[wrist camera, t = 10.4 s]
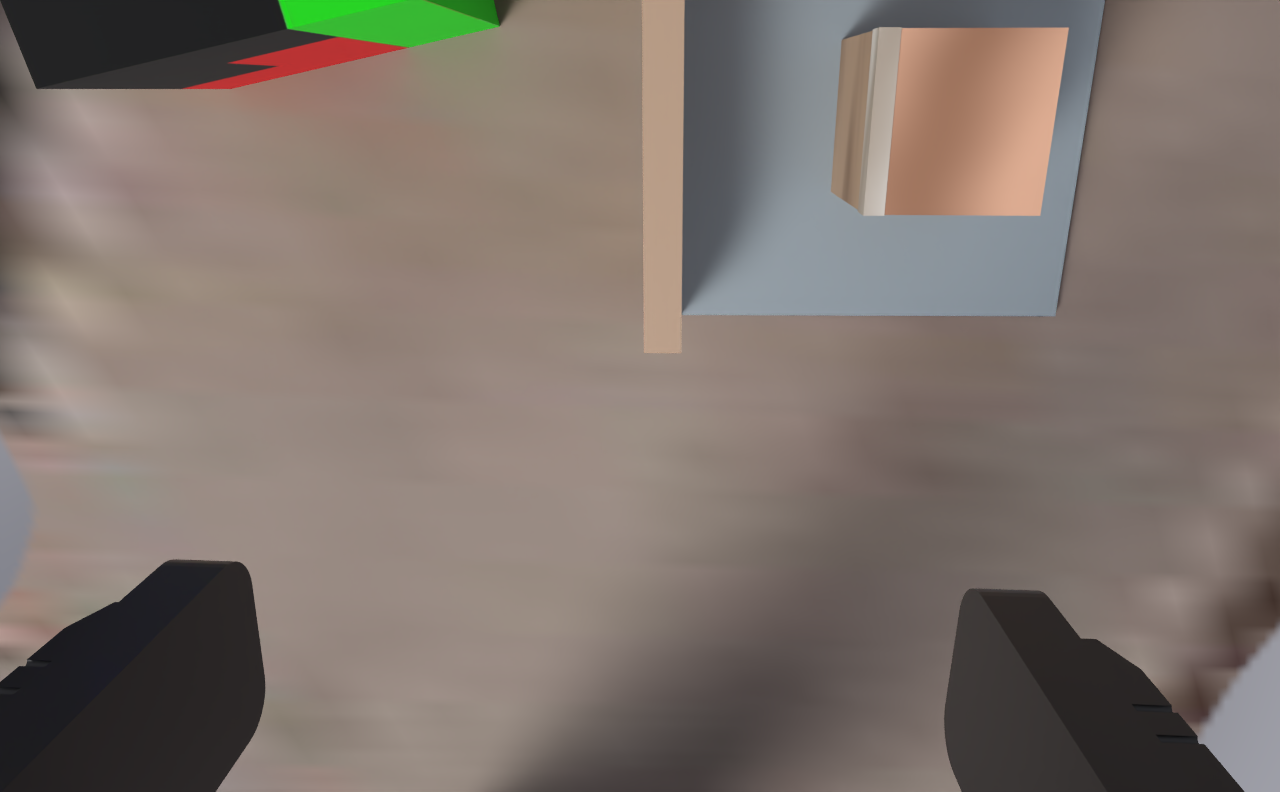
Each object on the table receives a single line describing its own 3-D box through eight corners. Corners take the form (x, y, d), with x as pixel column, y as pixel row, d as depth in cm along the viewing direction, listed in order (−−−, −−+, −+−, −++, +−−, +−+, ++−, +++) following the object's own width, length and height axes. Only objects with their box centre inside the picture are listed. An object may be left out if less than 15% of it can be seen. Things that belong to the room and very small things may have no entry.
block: (992, 38, 29) (1069, 26, 23) (973, 192, 31) (1040, 216, 25) (840, 39, 29) (879, 27, 23) (829, 192, 31) (863, 215, 25)
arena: (1050, 313, 32) (1120, 355, 27) (649, 312, 33) (644, 352, 28) (1128, -187, 27) (1233, -251, 22) (647, -177, 28) (640, -237, 23)
